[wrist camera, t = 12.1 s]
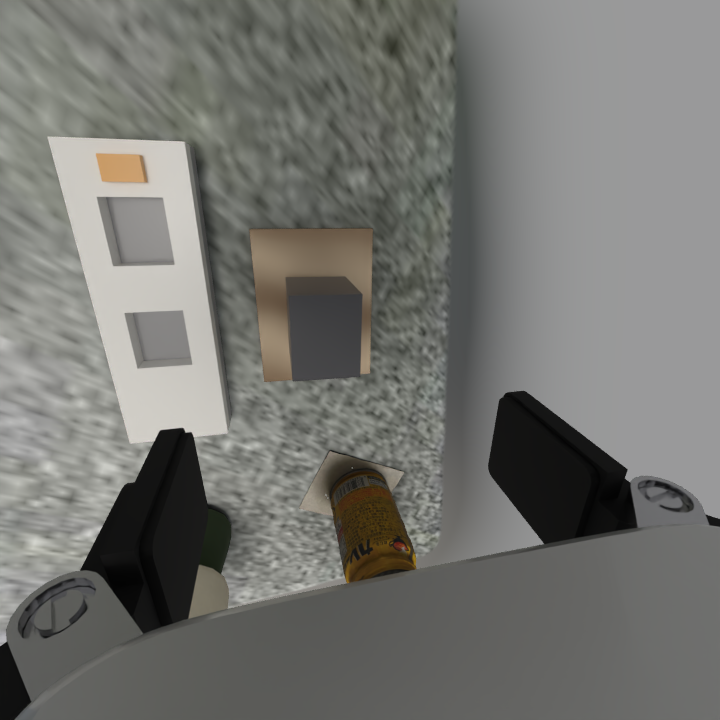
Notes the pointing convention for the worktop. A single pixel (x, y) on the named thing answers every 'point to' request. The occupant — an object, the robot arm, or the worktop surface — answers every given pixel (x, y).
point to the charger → (324, 327)
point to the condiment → (362, 516)
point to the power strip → (148, 279)
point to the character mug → (212, 568)
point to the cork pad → (305, 259)
